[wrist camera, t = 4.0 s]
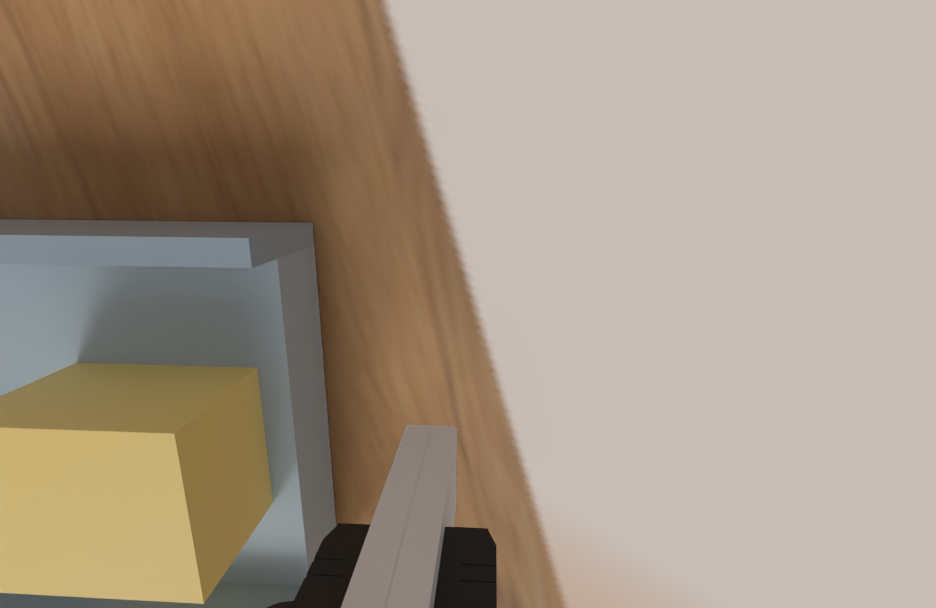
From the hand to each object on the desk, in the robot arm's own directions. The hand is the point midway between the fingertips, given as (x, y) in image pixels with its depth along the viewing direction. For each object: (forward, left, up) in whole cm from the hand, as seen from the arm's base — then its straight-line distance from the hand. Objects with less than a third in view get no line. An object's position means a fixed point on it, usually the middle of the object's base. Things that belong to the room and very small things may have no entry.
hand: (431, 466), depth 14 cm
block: (0, +9, -1) cm, 9 cm away
